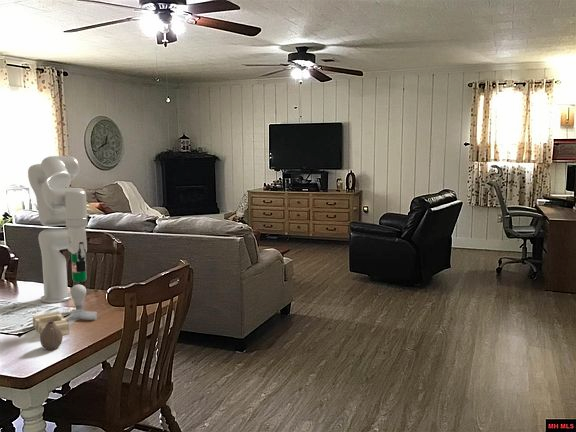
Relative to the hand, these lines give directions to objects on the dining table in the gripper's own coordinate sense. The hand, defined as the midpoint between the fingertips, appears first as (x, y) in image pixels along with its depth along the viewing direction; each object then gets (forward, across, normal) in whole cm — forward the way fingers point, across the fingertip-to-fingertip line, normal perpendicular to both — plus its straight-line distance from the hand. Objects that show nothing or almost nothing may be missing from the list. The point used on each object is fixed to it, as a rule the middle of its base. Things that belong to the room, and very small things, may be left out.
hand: (79, 269), depth 194 cm
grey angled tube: (+21, -3, 0) cm, 21 cm away
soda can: (+5, 0, 0) cm, 5 cm away
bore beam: (+21, +2, -12) cm, 24 cm away
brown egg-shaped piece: (+21, +20, -15) cm, 33 cm away
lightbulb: (+21, -15, +3) cm, 26 cm away
